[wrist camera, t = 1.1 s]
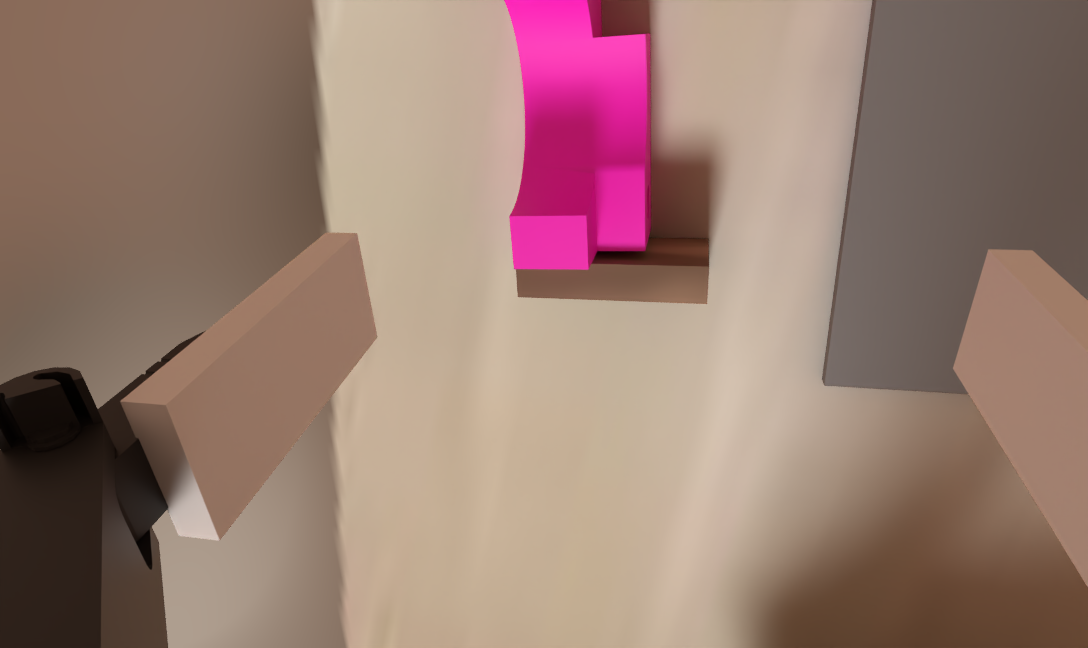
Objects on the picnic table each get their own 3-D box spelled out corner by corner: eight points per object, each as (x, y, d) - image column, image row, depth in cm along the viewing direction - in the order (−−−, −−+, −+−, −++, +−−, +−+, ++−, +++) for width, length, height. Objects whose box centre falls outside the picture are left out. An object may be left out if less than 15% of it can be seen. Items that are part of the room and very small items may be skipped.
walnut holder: (706, 272, 39) (707, 303, 34) (538, 267, 41) (517, 296, 37) (729, -166, 31) (734, -198, 26) (517, -143, 33) (488, -170, 28)
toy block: (651, 227, 39) (640, 269, 32) (545, 228, 40) (514, 269, 34) (650, -71, 33) (636, -95, 26) (526, -58, 34) (483, -78, 28)
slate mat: (1135, 397, 37) (1143, 404, 36) (822, 379, 40) (824, 385, 39) (1294, -67, 28) (1310, -70, 27) (878, -40, 31) (881, -41, 31)
